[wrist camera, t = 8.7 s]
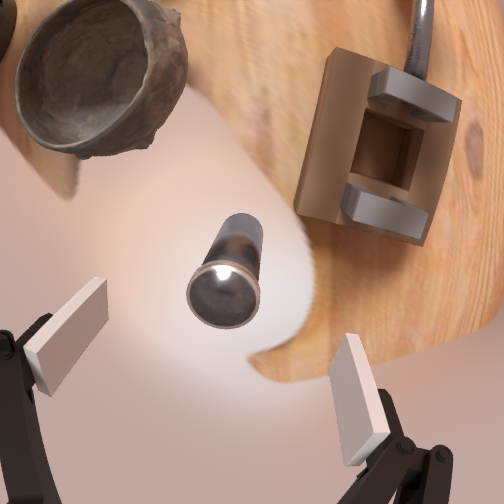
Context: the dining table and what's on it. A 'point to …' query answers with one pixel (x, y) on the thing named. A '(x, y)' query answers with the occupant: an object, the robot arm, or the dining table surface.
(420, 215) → the dock block
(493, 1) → the dining table surface
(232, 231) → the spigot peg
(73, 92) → the bowl
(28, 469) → the robot arm
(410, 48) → the pin
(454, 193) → the dining table surface
